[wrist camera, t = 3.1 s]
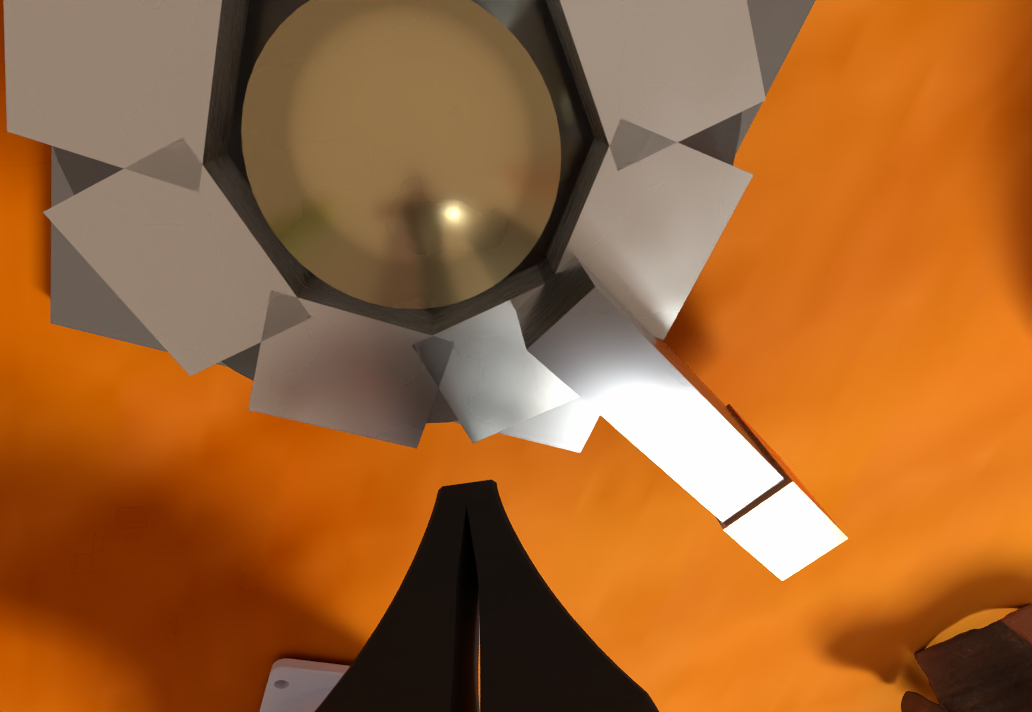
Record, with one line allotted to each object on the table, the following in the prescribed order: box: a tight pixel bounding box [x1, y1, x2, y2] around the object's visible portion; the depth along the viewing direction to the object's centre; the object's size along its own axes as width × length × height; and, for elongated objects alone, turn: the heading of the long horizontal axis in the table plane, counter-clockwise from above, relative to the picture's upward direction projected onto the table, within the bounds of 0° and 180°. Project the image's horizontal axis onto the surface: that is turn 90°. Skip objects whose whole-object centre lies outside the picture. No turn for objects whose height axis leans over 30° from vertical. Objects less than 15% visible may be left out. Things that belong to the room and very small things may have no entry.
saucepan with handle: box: [3, 0, 848, 581], centre depth 10 cm, size 12×18×3 cm
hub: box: [51, 0, 815, 453], centre depth 10 cm, size 14×14×5 cm
